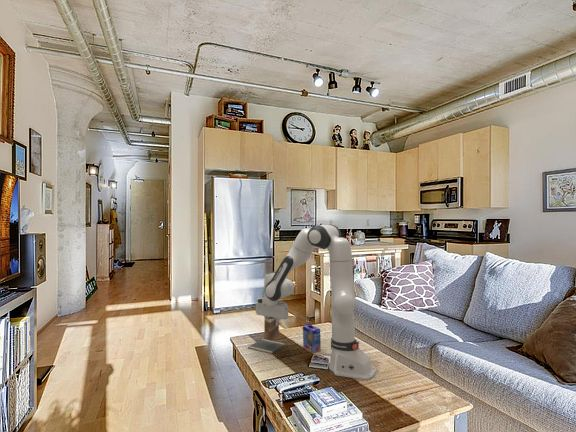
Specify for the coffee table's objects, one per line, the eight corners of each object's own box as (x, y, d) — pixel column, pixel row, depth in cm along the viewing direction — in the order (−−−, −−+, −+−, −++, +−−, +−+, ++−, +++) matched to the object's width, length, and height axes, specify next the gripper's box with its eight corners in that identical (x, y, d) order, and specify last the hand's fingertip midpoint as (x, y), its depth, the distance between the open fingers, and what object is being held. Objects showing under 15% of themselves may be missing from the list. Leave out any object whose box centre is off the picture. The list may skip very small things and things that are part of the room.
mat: (284, 345, 191) (284, 343, 191) (271, 353, 179) (271, 352, 179) (261, 340, 199) (261, 338, 199) (247, 348, 187) (247, 346, 187)
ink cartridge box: (302, 347, 188) (302, 321, 189) (310, 344, 192) (309, 319, 192) (313, 352, 180) (313, 326, 180) (321, 350, 183) (320, 324, 184)
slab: (279, 335, 190) (279, 316, 190) (270, 340, 182) (270, 320, 182) (272, 334, 192) (273, 315, 192) (264, 339, 184) (264, 319, 184)
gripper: (290, 301, 185) (290, 326, 185) (260, 297, 195) (260, 320, 195) (284, 303, 179) (284, 329, 179) (254, 299, 190) (254, 323, 189)
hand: (271, 324), depth 187 cm, fingers closed on slab, 4 cm apart
